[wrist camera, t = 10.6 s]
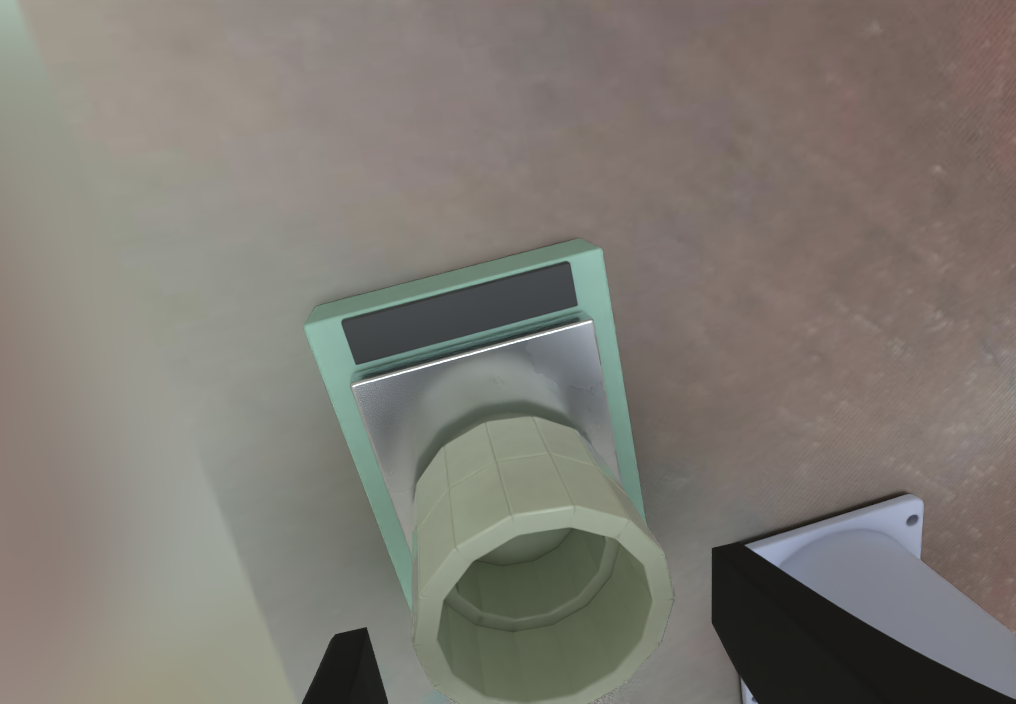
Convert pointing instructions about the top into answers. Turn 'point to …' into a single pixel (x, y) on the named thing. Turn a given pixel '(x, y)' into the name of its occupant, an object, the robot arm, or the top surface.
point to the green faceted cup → (531, 569)
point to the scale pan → (482, 398)
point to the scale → (457, 320)
